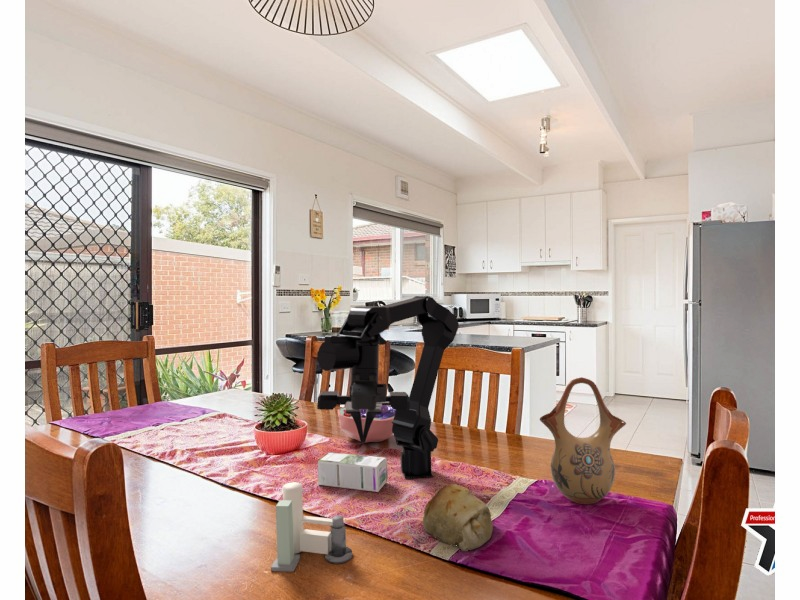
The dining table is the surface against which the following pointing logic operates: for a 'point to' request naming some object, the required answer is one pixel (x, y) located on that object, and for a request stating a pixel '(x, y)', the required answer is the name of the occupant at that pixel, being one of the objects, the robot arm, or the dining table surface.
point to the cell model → (379, 425)
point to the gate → (305, 537)
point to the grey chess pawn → (338, 547)
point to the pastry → (458, 517)
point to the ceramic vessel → (582, 452)
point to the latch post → (285, 538)
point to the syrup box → (352, 471)
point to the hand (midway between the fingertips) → (362, 442)
